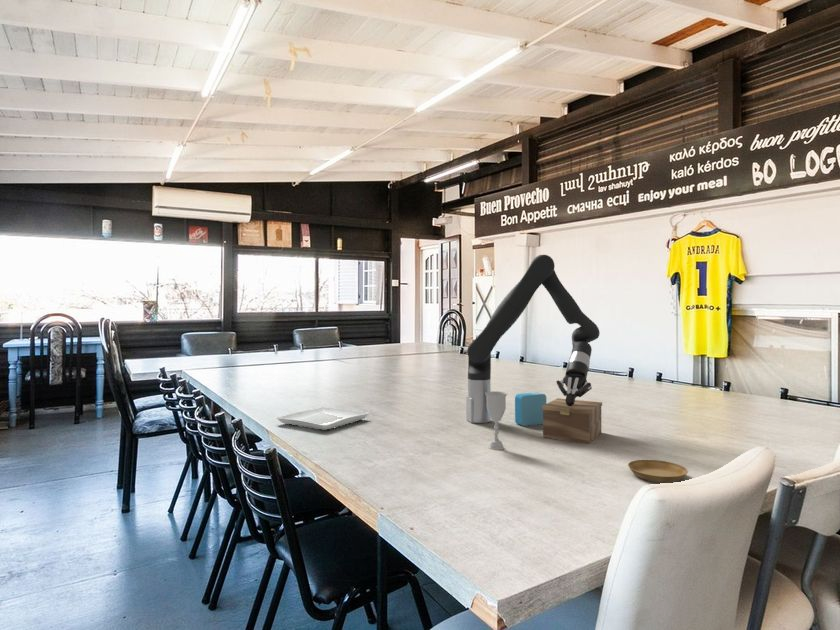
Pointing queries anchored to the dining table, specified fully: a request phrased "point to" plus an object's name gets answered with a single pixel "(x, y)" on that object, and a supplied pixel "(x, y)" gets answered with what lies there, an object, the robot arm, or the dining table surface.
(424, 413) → the dining table surface
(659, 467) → the plant saucer
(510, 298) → the robot arm
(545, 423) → the walnut box
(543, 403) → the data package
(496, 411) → the chalice
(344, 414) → the square plate
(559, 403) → the walnut lid
